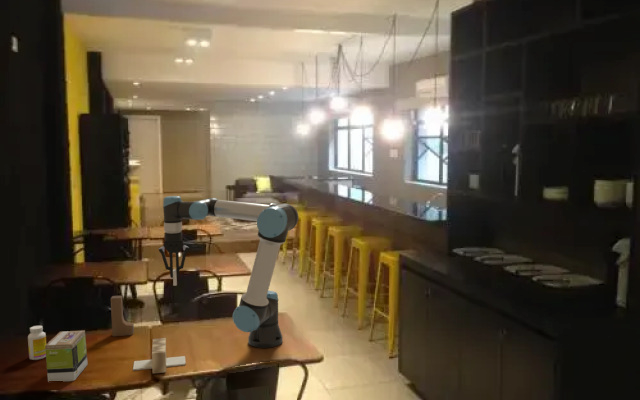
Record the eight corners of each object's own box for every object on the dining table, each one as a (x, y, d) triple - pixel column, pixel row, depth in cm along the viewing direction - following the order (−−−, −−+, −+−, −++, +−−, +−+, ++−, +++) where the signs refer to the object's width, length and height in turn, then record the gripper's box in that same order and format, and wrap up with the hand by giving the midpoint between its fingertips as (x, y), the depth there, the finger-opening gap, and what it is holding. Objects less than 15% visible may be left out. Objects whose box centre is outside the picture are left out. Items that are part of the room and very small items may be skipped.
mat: (185, 357, 227) (185, 355, 227) (185, 364, 219) (185, 363, 219) (134, 362, 222) (134, 361, 222) (133, 370, 214) (132, 369, 214)
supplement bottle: (50, 355, 230) (49, 325, 228) (38, 361, 224) (36, 330, 222) (38, 353, 232) (36, 324, 231) (25, 359, 226) (23, 329, 224)
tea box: (62, 366, 219) (60, 330, 217) (88, 365, 219) (86, 329, 218) (46, 382, 204) (44, 344, 202) (74, 381, 205) (72, 343, 203)
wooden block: (134, 332, 258) (132, 294, 256) (132, 335, 253) (131, 297, 251) (113, 333, 256) (112, 295, 254) (112, 336, 251) (110, 298, 249)
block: (165, 337, 225) (165, 352, 210) (166, 356, 226) (166, 372, 211) (152, 338, 224) (151, 353, 209) (153, 357, 225) (152, 373, 210)
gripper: (188, 229, 243) (190, 281, 246) (157, 231, 240) (159, 283, 242) (188, 232, 236) (190, 285, 239) (157, 233, 233) (159, 288, 235)
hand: (175, 284), depth 241 cm, fingers closed
